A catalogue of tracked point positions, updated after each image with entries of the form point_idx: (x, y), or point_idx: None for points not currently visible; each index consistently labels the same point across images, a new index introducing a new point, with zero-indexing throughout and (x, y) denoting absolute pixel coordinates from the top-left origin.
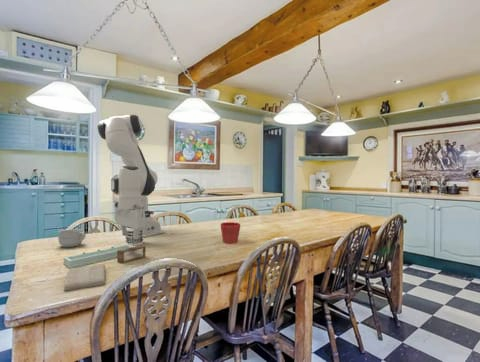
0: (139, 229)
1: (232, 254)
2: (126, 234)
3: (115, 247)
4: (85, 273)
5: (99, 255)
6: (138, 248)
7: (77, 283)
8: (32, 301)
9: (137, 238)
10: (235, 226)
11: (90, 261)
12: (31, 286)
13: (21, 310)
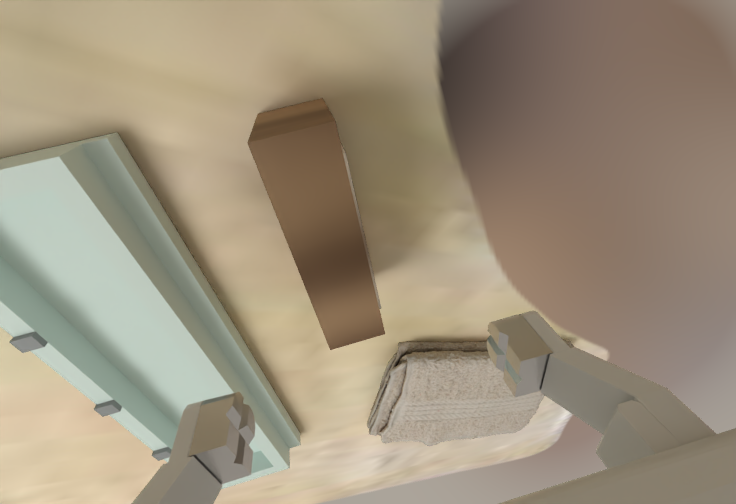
0: (682, 415)
1: None
2: (240, 410)
3: (20, 321)
4: (484, 404)
5: (235, 390)
6: (354, 203)
7: (538, 406)
8: (515, 443)
9: (531, 317)
10: None
11: (272, 399)
12: (414, 466)
13: (542, 445)
